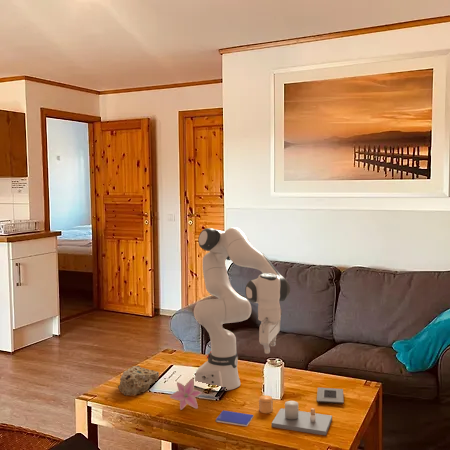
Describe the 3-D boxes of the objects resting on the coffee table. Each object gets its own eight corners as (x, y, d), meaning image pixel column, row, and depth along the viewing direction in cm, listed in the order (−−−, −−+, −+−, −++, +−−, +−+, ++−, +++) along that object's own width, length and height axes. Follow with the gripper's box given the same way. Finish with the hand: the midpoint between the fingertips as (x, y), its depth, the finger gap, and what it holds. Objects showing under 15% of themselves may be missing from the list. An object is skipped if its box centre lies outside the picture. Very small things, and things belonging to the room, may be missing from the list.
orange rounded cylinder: (257, 412, 206) (257, 399, 206) (261, 406, 211) (261, 394, 210) (270, 413, 204) (270, 401, 204) (273, 408, 209) (273, 396, 209)
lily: (165, 410, 212) (169, 394, 207) (175, 388, 222) (179, 373, 217) (193, 420, 211) (197, 405, 206) (202, 398, 221) (206, 383, 215)
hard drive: (215, 418, 199) (246, 423, 195) (223, 409, 207) (253, 414, 202) (215, 422, 199) (246, 427, 195) (223, 413, 207) (253, 418, 202)
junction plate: (271, 426, 194) (271, 408, 193) (280, 411, 206) (280, 394, 205) (325, 435, 187) (325, 416, 186) (332, 419, 199) (332, 401, 198)
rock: (131, 379, 245) (136, 358, 245) (159, 389, 242) (164, 368, 241) (110, 392, 225) (116, 370, 225) (141, 403, 222) (146, 380, 221)
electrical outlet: (343, 407, 210) (343, 401, 210) (316, 405, 212) (316, 399, 212) (342, 393, 223) (342, 388, 222) (317, 392, 225) (317, 386, 225)
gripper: (270, 321, 196) (271, 358, 197) (282, 309, 215) (283, 342, 216) (254, 321, 198) (255, 357, 199) (267, 308, 217) (268, 341, 218)
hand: (270, 349), depth 208 cm, fingers open, 8 cm apart
